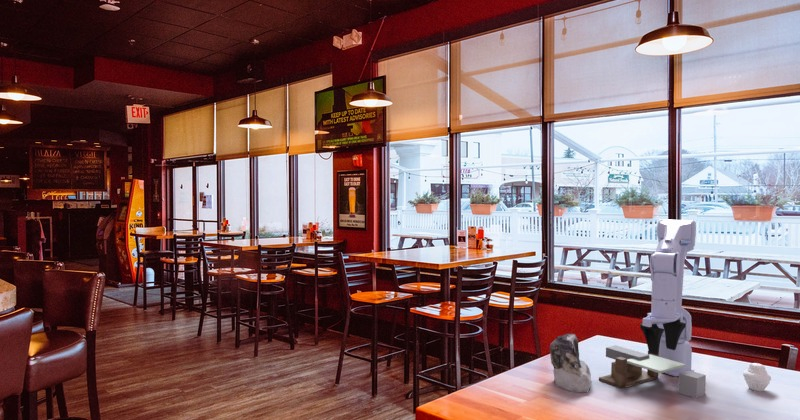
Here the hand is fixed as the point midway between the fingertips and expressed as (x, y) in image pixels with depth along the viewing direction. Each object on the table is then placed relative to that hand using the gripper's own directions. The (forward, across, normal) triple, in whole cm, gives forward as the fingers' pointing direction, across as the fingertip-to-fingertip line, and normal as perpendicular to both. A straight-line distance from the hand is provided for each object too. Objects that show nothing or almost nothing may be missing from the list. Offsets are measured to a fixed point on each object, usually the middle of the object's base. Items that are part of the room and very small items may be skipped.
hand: (662, 351), depth 138 cm
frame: (+10, 0, -10) cm, 14 cm away
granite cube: (+10, -5, +5) cm, 13 cm away
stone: (+10, +17, -15) cm, 25 cm away
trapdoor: (+5, 0, -6) cm, 8 cm away
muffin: (+10, -23, +12) cm, 28 cm away
